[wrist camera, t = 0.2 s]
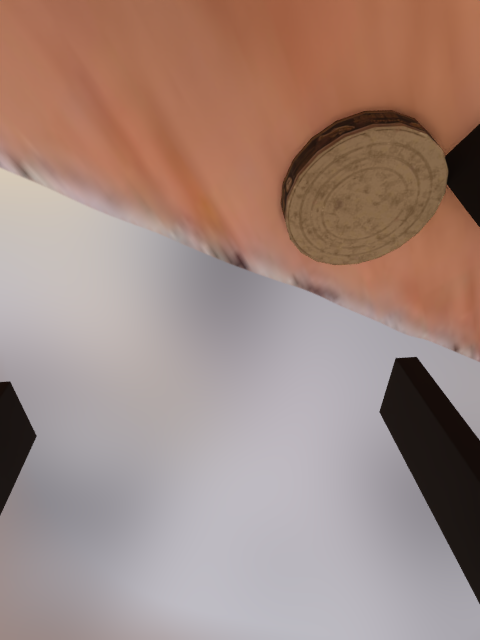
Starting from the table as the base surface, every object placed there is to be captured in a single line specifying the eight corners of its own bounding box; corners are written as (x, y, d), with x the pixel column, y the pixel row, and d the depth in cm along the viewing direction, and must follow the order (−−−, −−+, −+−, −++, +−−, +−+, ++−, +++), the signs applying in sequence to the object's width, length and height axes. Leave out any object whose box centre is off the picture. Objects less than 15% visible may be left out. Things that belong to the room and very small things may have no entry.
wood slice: (470, 122, 34) (486, 137, 32) (389, 252, 46) (397, 269, 44) (306, 97, 31) (313, 113, 29) (266, 243, 43) (269, 260, 42)
